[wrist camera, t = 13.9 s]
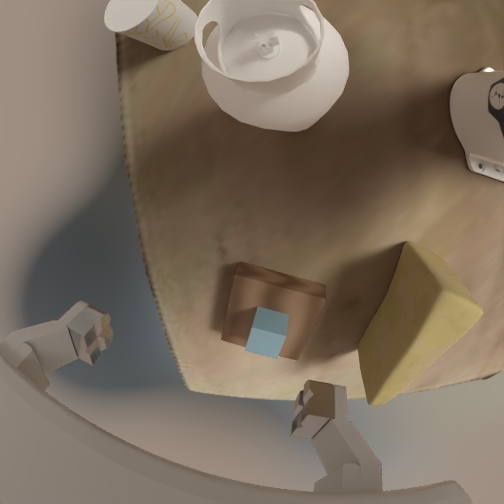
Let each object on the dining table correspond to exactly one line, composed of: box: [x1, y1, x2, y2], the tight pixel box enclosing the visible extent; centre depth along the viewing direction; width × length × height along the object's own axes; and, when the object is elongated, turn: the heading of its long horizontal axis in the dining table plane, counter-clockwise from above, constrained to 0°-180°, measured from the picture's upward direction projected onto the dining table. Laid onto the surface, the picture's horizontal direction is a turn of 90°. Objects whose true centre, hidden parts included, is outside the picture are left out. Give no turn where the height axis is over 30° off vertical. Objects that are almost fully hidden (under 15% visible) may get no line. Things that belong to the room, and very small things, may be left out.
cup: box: [104, 0, 198, 51], centre depth 24 cm, size 8×8×12 cm
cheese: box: [358, 242, 483, 406], centre depth 35 cm, size 22×10×15 cm, turn 160°
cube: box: [245, 306, 289, 359], centre depth 40 cm, size 5×5×5 cm
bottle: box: [195, 0, 349, 132], centre depth 19 cm, size 8×8×28 cm
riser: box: [221, 262, 326, 360], centre depth 44 cm, size 14×14×4 cm
